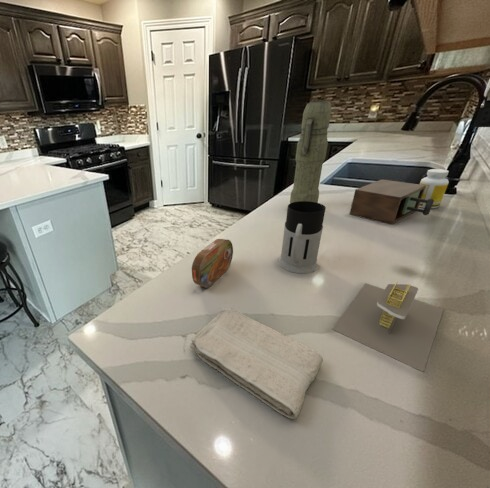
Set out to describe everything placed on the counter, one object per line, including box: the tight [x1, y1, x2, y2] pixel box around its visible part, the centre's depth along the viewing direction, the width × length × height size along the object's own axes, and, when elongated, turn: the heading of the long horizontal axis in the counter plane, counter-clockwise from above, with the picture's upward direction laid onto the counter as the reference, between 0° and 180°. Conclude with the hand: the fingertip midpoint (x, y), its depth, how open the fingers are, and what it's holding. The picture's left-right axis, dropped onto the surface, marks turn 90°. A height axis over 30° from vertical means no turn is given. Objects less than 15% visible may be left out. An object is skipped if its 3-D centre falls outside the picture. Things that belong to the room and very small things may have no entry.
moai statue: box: [289, 99, 332, 204], centre depth 87 cm, size 9×12×35 cm
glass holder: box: [277, 201, 326, 274], centre depth 59 cm, size 9×14×15 cm, turn 147°
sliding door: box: [401, 191, 434, 216], centre depth 78 cm, size 6×7×6 cm
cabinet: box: [349, 179, 426, 226], centre depth 84 cm, size 12×16×8 cm
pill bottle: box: [418, 168, 450, 209], centre depth 84 cm, size 6×6×12 cm
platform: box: [332, 280, 444, 373], centre depth 45 cm, size 12×18×7 cm, turn 131°
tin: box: [191, 238, 234, 289], centre depth 62 cm, size 15×3×8 cm, turn 139°
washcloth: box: [189, 307, 324, 420], centre depth 42 cm, size 12×18×3 cm, turn 46°
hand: (489, 124), depth 63 cm, fingers open, 9 cm apart
